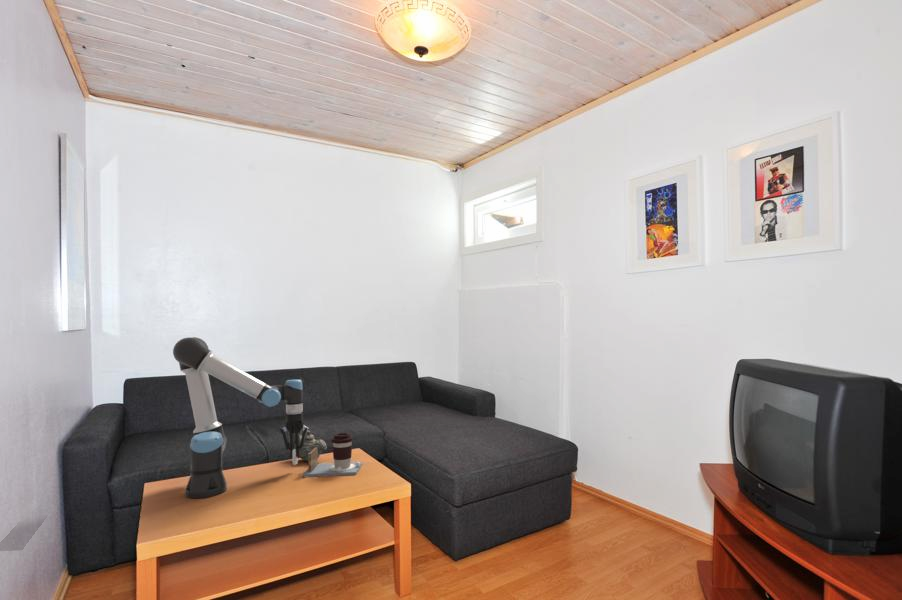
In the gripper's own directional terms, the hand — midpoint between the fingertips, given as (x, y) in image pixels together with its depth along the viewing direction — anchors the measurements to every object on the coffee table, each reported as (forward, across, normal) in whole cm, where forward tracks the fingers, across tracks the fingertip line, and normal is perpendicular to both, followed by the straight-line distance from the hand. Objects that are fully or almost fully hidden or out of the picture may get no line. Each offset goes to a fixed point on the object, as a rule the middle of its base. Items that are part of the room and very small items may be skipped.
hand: (295, 463), depth 216 cm
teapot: (+4, +1, +20) cm, 20 cm away
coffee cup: (+3, +22, 0) cm, 22 cm away
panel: (+2, +8, 0) cm, 8 cm away
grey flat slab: (+4, +18, 0) cm, 18 cm away
